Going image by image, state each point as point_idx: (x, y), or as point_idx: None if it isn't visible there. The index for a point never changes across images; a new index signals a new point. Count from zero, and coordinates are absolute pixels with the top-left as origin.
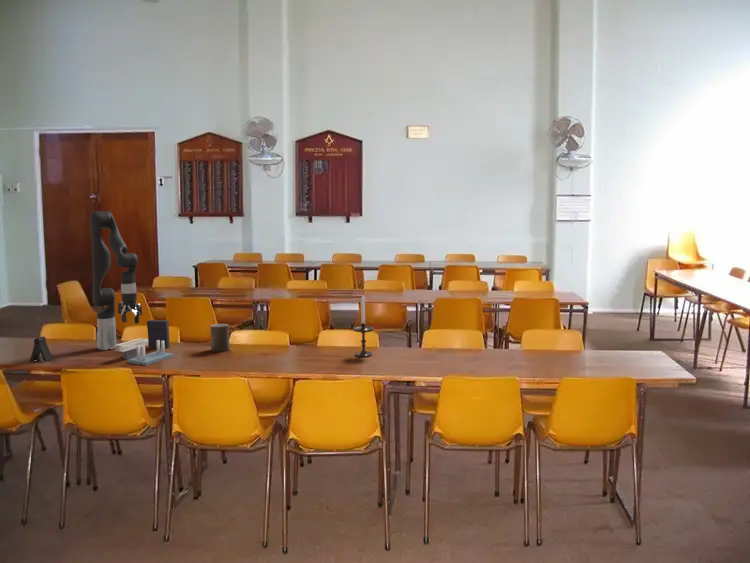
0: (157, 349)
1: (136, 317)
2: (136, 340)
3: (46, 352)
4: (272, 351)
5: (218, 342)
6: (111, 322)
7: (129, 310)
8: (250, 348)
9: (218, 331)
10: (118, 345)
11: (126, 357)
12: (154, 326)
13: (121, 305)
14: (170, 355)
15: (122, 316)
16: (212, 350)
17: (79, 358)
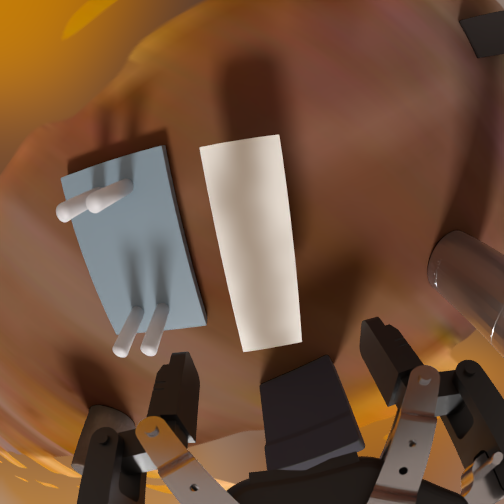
0: (155, 315)
1: (155, 412)
2: (270, 300)
3: (490, 33)
4: (46, 427)
5: (85, 426)
6: (500, 324)
7: (277, 485)
8: None
9: (76, 452)
10: (245, 142)
11: None
12: (317, 434)
13: (482, 471)
14: (110, 316)
15: (401, 360)
16: (107, 408)
17: (428, 90)
